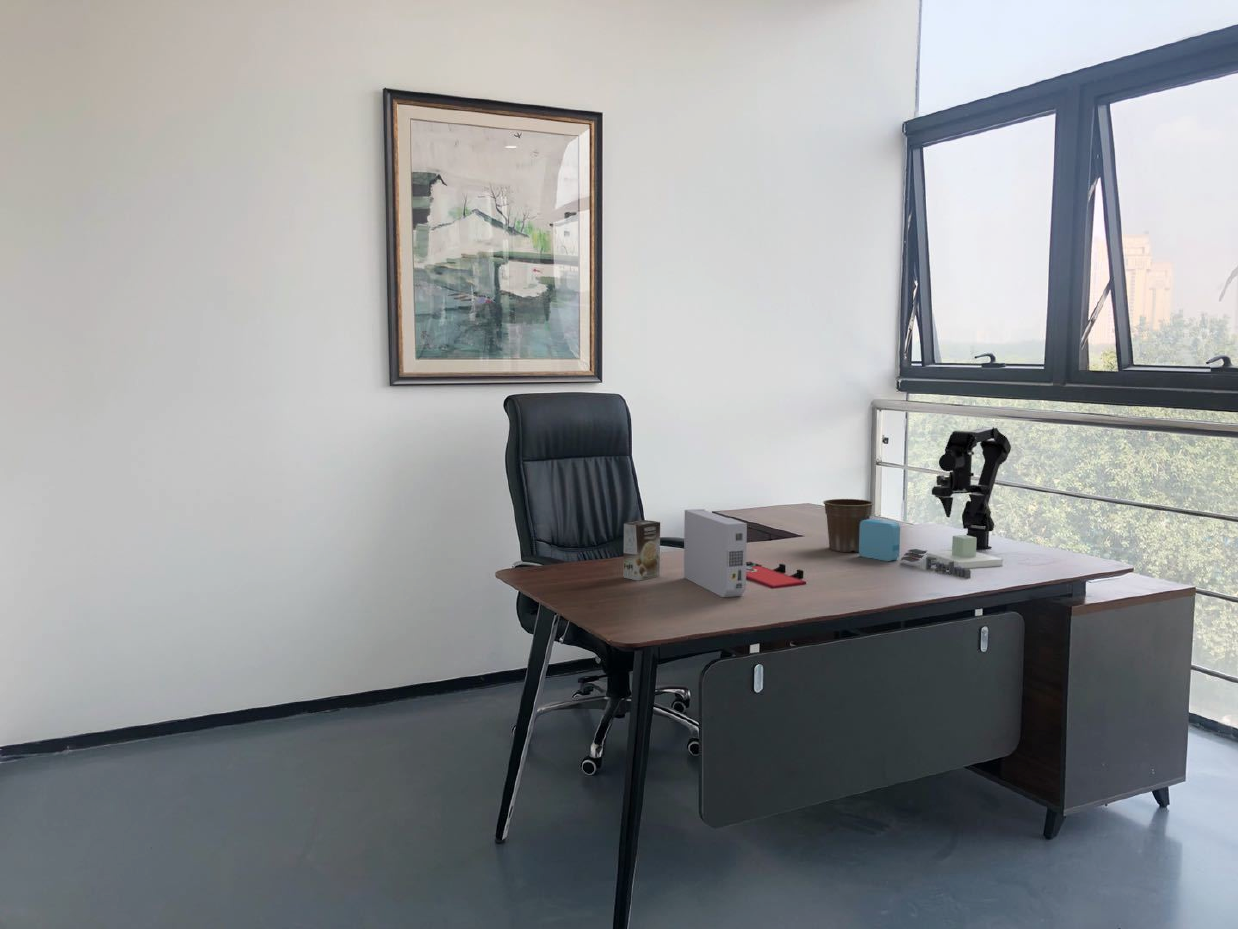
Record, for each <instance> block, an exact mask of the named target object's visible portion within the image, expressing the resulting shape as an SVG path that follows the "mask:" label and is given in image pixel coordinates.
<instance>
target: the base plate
mask: <svg viewBox="0 0 1238 929" xmlns="http://www.w3.org/2000/svg"><path fill="white" fill-rule="evenodd" d="M925 554H926V555H925V558H926V557H935V558H937V560H932V561H931V562H940V563H944V564H949V562H952V561H953V562H954V567H961V568H966V569H967V568H968V569H974V568H986V567H987V568H988V567H989V568H990V567H1000V566H1001V567H1003V564H1004V561H1003V560H1004V559H1003V558H1000V557H996V556H993V555H990V554H987V553H986V554H985V553H982V552H980V551H979V552H978V551H976V557H966V558H961V557H958V556H955V555H952V550H944V551H943V550H942V551H941V550H940V551H927V552H926V553H925Z"/></svg>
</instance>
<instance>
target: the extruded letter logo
mask: <svg viewBox="0 0 1238 929" xmlns="http://www.w3.org/2000/svg"><path fill="white" fill-rule="evenodd" d="M926 552H928V550H923V549H918V548H912V549H908V550H907V552H905V553H904V554H903V556H902V557H901V559H900V561H907V562H908V563H909V562H910V563H915V562H918V561H921V559H923V557H924V556H925V554H926ZM925 559H926V560H925V562H926V565H925V570H929V571H934V572H938V573H941V574H945V575H947V574H948V575H950V576H954V577H960V578H965V579H971V574H972V573H971V570H970V569H971V568H961V567H954V562H953V561H952V562H949V564H944V563H940V562H935V561H932V560H937V558H935V557H926V556H925ZM932 566H935V567H936V568H934V567H932Z"/></svg>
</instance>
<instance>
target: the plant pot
mask: <svg viewBox="0 0 1238 929" xmlns="http://www.w3.org/2000/svg"><path fill="white" fill-rule="evenodd" d="M822 503H823V504H824V511H825V512H824V513H825V514H826V515H825V516H826V524H827V526H826V527H827V536H828V548H829V550H831V551H835V552H839V553H851V552H855V553H859V535H860V522H861V521H863V520H867V519H871V518H870V517H871V515H872V508H873V505H874V501H871V500H869V499H868V500H867V499H858V498H857V499H855V498H834V499H833V498H832V499H826V500H823V502H822Z"/></svg>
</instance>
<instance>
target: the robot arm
mask: <svg viewBox="0 0 1238 929" xmlns="http://www.w3.org/2000/svg"><path fill="white" fill-rule="evenodd" d="M978 443H979V445H980V448H981V449H982V453H981V454H982V456H983V459H984V463H983V466H982V468H981V469H982V470H981V473H980V476H979V479H978V482H977V484H972V477H974V476H975V473H974V472H972V462H973V461H972V459H973V458H972V457H973V456H974V455H975V451H973V450H974V448H976V447H977V446H978ZM1011 451H1012V446H1011V443H1010V441H1009V439H1008V437H1007V436H1006V435H1004V434H1003V433H1001V431H999V429H998V428H997V427H996V426H981V427H980V428H976V429H972V430H953V431H952V432H951V434H950V436H949V438H948V440H947V443H946V446H945V448H944V454H942V455H941V456H940V458H939V460H938V465H939V468H940V469H941V470H943V471H944V472H949V475H948V476H945V475H944V474H943V475H941V474H940V475H937V476H936V480H935V483H936V485H934V486H933V487H932V488H931V495H934V496H935V498H936V499H937V498H938V499H939V501H940V503H941V504H942V508H943V510H944V513H945V515H946V518H950V517H951V514H952V507H953V502H954V496H952V495H953V494H968V496H969V500H966V502H965V506H964V508H963V510H962V513H961V520H962V521H961V522H962V528H963V529H966V530H967V532H966V534H965V535H968V536H972V537H976V538H977V542H976V550H984V549H985V550H986V549H992V546H990V545H989V538H990V532H993V531H994V528H995V522H994V520H993V518H992V516H991V513H992V512H991V509H990V506H989V502H990V498H991V496H992V493H993V488H994V485H995V482H996V480H997V479H996V478H997V474H998V472H999V468H1000V466H1001V465H1002V464H1003V463H1005V462H1006V461H1007V460H1008V457H1009V454H1010V453H1011Z"/></svg>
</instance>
